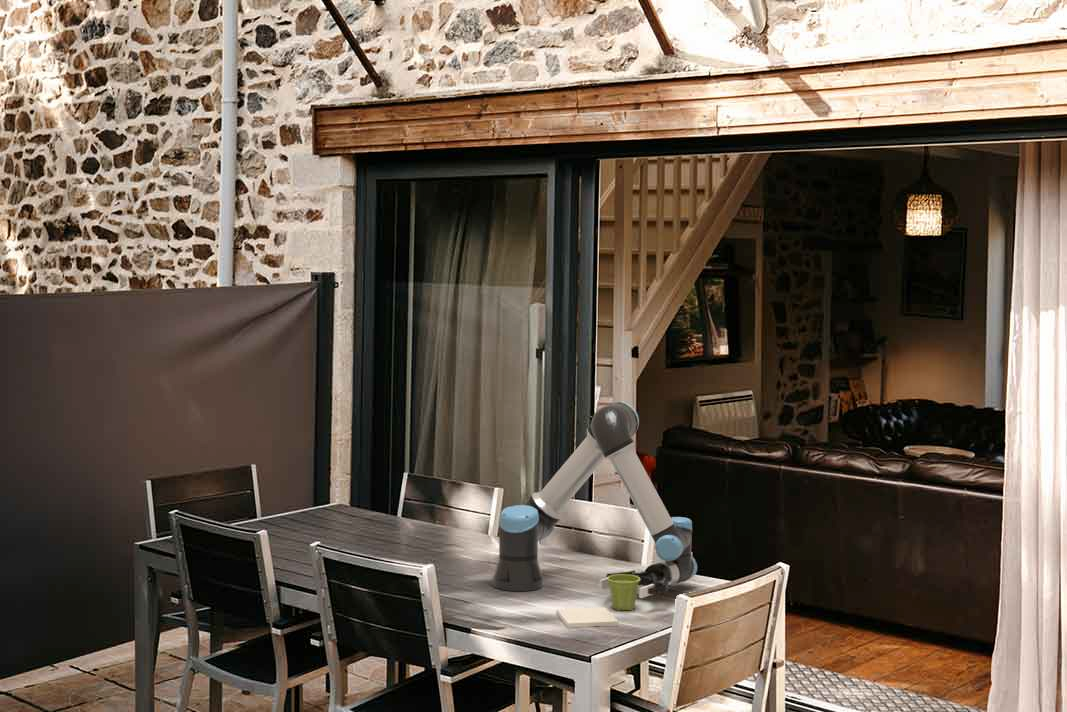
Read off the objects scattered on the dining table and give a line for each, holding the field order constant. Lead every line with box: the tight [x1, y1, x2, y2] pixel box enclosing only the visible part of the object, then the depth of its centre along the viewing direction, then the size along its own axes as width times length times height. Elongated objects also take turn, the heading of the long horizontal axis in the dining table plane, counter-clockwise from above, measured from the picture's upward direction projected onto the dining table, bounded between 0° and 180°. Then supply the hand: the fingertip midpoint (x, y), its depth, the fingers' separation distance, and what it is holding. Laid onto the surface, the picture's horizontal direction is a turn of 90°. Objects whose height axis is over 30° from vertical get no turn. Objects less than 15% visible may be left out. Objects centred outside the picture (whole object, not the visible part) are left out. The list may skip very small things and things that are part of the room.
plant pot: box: [606, 574, 640, 611], centre depth 353 cm, size 9×9×9 cm
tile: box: [556, 607, 619, 629], centre depth 341 cm, size 14×14×1 cm
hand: (620, 589), depth 351 cm, fingers open, 13 cm apart
